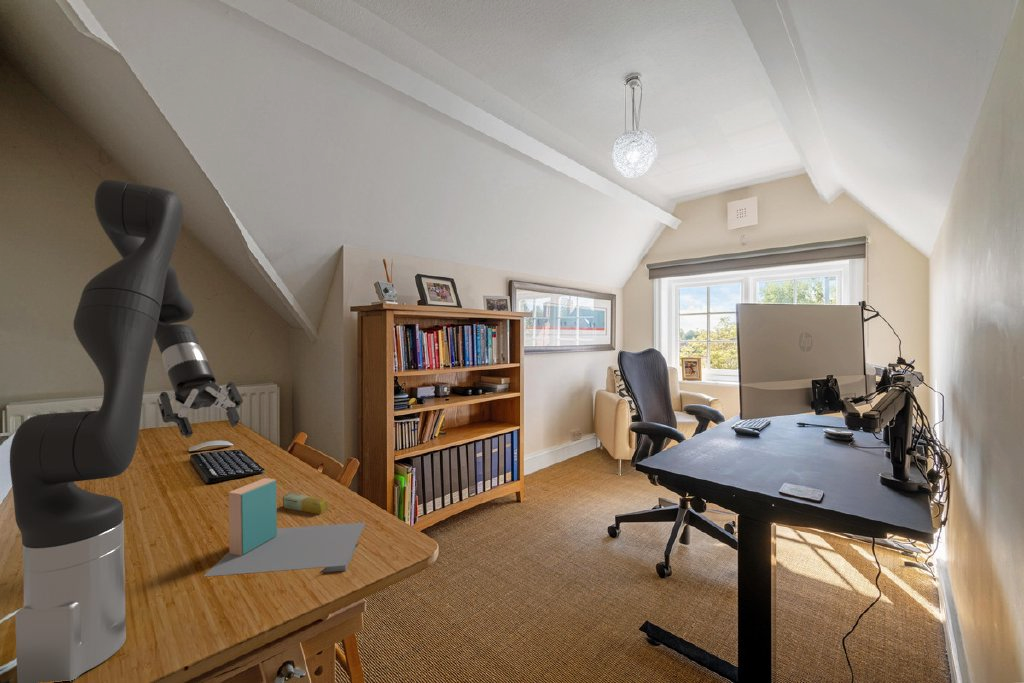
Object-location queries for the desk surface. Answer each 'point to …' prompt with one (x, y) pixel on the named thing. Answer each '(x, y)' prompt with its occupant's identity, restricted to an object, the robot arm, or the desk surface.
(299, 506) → the medication box
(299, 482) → the desk surface
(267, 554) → the slate mat
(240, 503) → the salmon pink box
